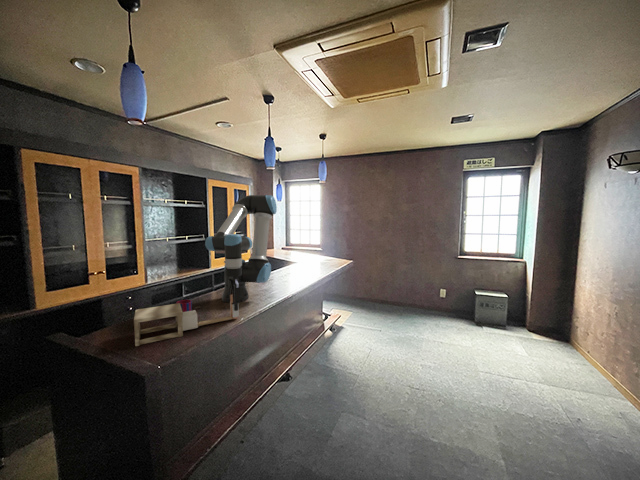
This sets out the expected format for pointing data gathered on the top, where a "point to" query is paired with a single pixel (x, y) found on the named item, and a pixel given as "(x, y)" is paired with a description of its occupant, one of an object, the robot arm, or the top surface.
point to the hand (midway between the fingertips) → (234, 315)
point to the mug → (185, 305)
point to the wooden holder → (155, 314)
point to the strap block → (191, 321)
